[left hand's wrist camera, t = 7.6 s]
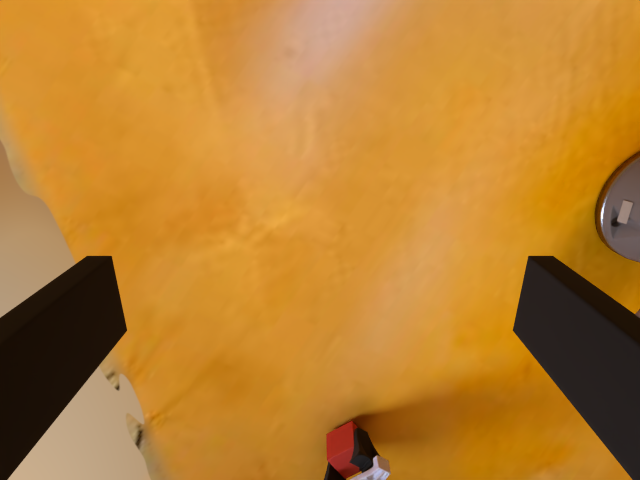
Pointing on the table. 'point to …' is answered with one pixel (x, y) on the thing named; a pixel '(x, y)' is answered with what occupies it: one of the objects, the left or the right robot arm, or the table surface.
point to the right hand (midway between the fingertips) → (348, 445)
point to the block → (342, 449)
